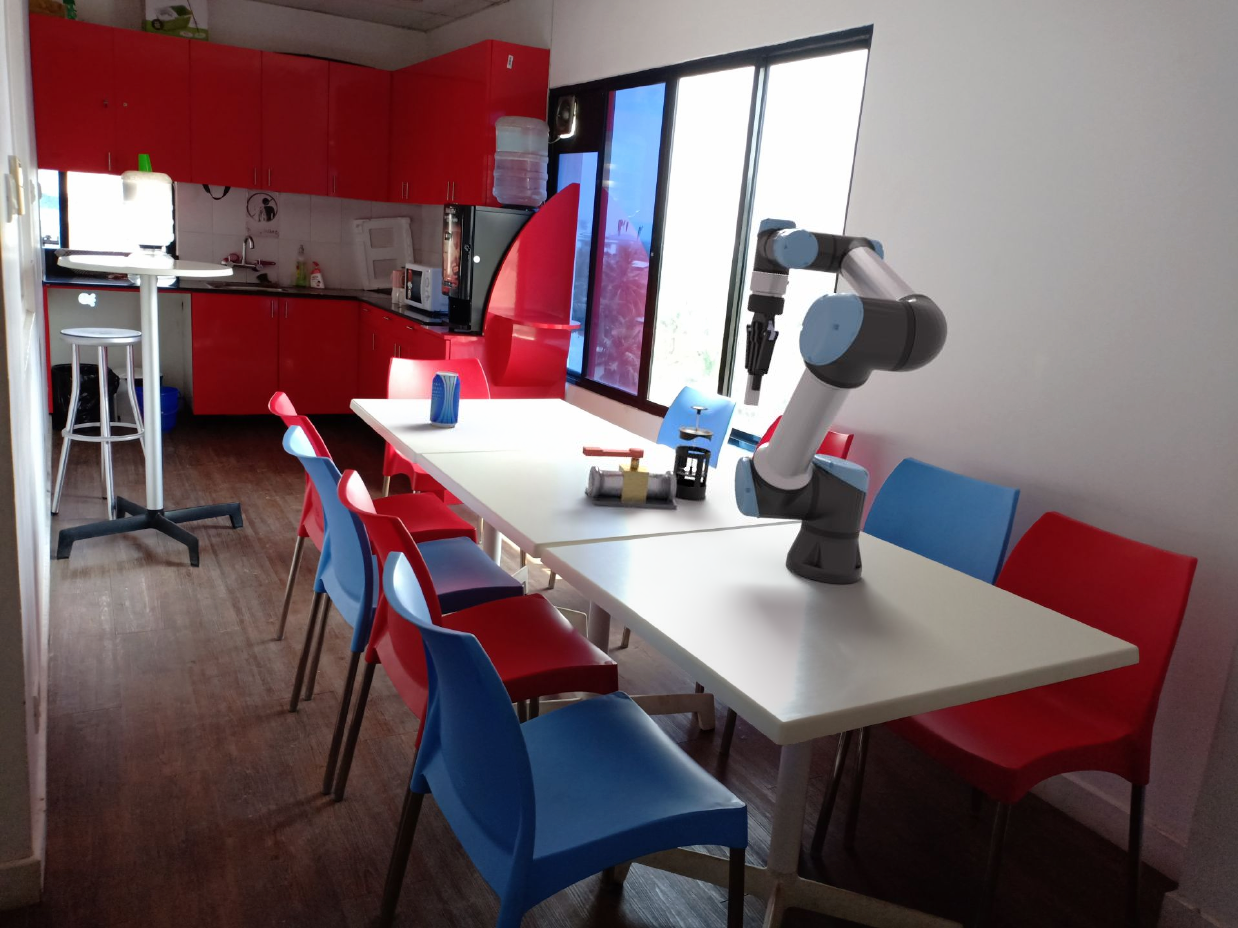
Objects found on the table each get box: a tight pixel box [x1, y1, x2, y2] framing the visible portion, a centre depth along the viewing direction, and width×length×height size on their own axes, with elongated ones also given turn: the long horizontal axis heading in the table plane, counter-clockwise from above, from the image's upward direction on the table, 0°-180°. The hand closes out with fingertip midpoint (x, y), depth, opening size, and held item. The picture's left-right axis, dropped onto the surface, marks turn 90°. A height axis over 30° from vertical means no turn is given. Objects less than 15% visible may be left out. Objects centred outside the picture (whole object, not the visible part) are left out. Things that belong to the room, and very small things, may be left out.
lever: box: [582, 446, 645, 459], centre depth 219 cm, size 15×4×2 cm, turn 110°
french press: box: [673, 405, 715, 502], centre depth 233 cm, size 12×9×23 cm
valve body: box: [584, 457, 678, 511], centre depth 223 cm, size 20×12×10 cm, turn 103°
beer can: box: [429, 371, 462, 429], centre depth 281 cm, size 8×8×16 cm
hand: (750, 404), depth 200 cm, fingers closed
